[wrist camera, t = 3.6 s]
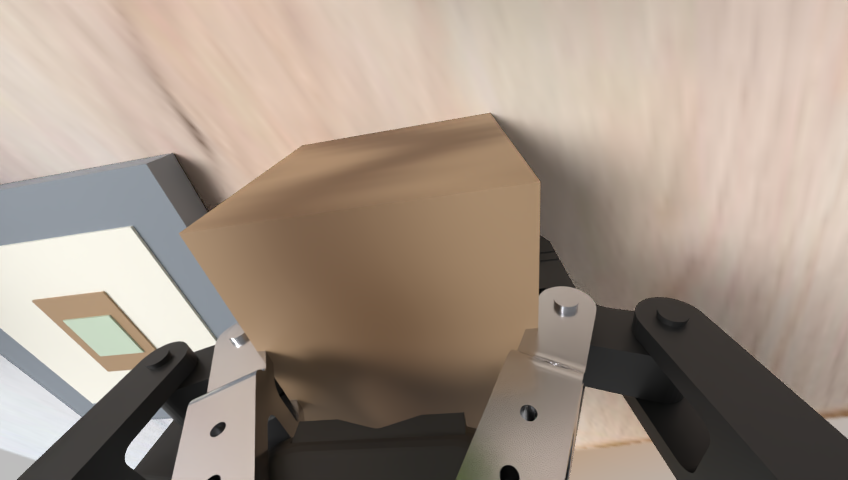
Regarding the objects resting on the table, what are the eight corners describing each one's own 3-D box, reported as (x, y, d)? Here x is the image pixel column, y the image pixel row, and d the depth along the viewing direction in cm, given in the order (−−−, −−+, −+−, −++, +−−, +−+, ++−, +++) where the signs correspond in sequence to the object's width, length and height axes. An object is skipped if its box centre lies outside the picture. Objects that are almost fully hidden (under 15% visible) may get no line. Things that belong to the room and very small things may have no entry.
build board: (173, 152, 11) (139, 166, 10) (312, 390, 18) (303, 415, 17) (-125, 207, 13) (-185, 224, 12) (107, 403, 20) (85, 427, 19)
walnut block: (490, 112, 10) (540, 181, 5) (503, 316, 15) (536, 462, 9) (302, 145, 11) (179, 232, 6) (370, 328, 15) (334, 468, 10)
